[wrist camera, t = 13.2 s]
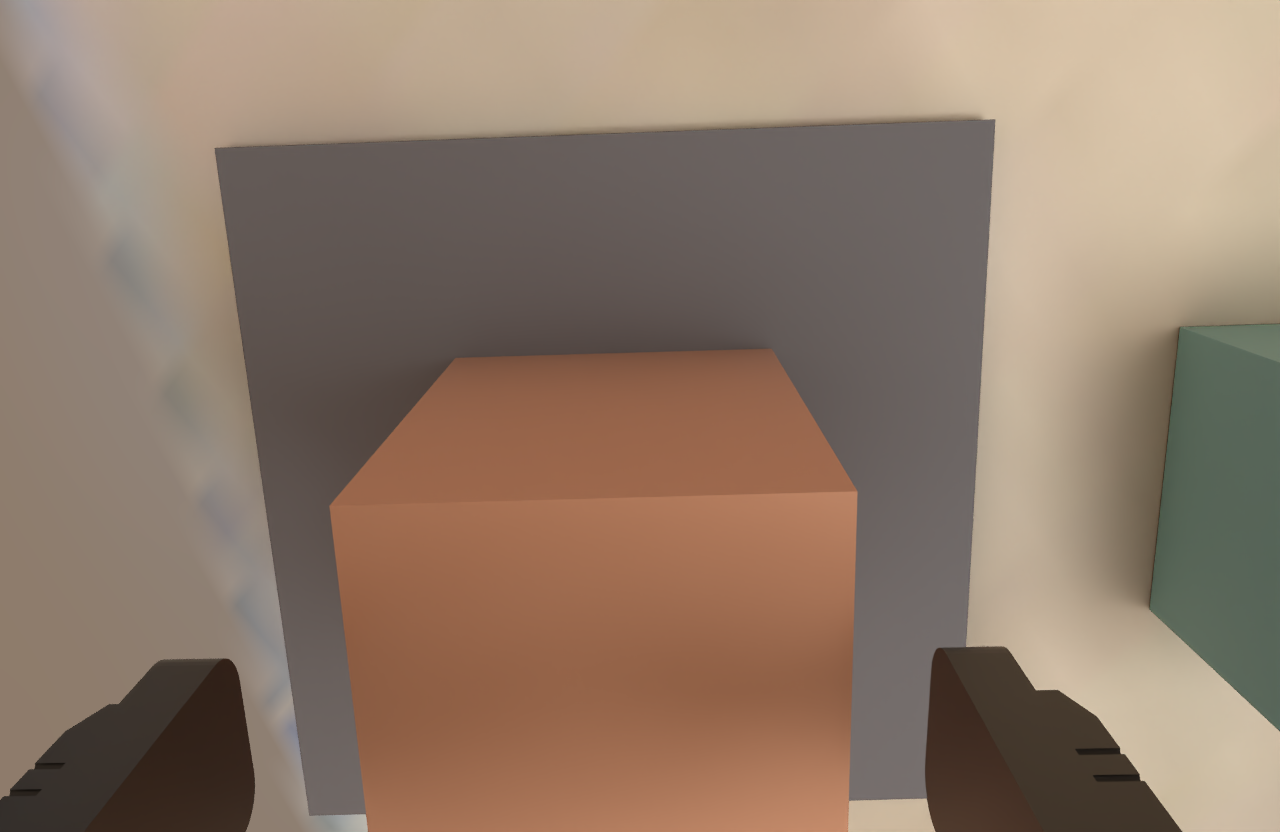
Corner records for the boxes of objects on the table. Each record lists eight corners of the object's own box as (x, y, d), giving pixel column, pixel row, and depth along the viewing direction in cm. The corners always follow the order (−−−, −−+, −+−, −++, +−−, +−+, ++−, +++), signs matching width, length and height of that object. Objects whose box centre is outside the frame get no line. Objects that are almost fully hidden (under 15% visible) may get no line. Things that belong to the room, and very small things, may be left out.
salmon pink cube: (455, 357, 19) (328, 505, 12) (771, 348, 19) (857, 492, 11) (478, 642, 21) (381, 940, 13) (770, 635, 21) (845, 930, 13)
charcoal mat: (227, 147, 19) (214, 148, 18) (984, 119, 19) (995, 119, 18) (318, 798, 23) (309, 815, 22) (949, 780, 22) (957, 797, 22)
